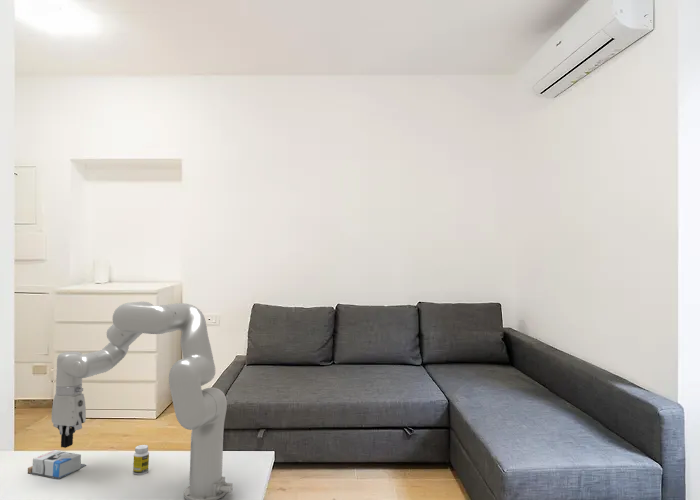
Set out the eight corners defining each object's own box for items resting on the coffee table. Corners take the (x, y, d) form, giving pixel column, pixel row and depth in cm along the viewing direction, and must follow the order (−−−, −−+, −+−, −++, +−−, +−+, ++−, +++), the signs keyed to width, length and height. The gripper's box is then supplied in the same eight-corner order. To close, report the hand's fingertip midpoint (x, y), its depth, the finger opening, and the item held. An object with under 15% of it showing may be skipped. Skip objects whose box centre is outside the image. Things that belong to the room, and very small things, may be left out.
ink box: (59, 462, 158) (32, 458, 161) (59, 478, 158) (31, 473, 161) (81, 453, 166) (54, 449, 170) (81, 468, 166) (54, 463, 169)
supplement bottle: (142, 475, 162) (143, 449, 162) (129, 474, 163) (130, 448, 163) (151, 470, 166) (152, 444, 167) (138, 468, 167) (139, 443, 168)
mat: (86, 465, 169) (86, 460, 169) (59, 478, 158) (59, 473, 158) (55, 461, 173) (56, 455, 173) (27, 473, 162) (27, 467, 162)
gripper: (96, 389, 165) (94, 445, 164) (60, 385, 169) (58, 439, 168) (78, 394, 157) (75, 453, 157) (41, 390, 161) (38, 447, 161)
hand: (66, 446), depth 162 cm, fingers closed
